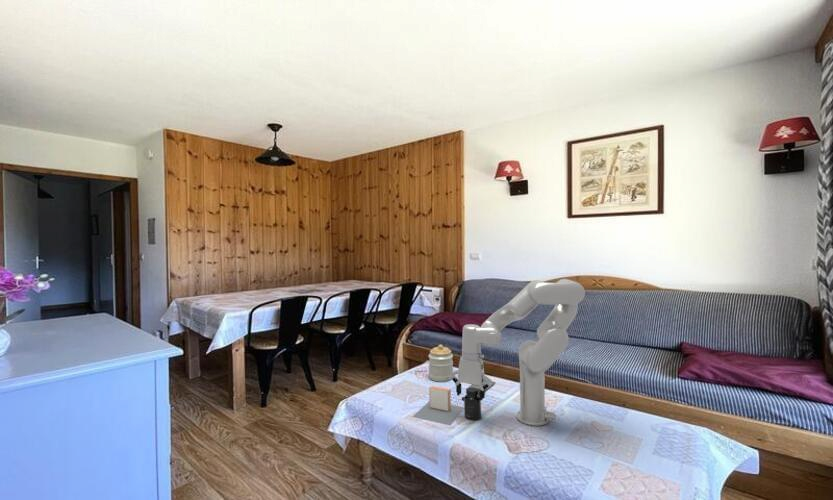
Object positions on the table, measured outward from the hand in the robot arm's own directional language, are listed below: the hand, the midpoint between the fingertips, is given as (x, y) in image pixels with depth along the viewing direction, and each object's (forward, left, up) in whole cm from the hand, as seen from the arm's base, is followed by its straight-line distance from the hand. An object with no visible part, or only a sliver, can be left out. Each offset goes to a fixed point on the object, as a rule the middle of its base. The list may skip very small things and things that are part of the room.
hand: (470, 396), depth 155 cm
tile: (+14, -1, -8) cm, 17 cm away
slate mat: (+13, +2, -9) cm, 16 cm away
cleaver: (+7, -28, -10) cm, 30 cm away
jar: (+29, -36, -9) cm, 47 cm away
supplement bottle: (-1, 0, -9) cm, 9 cm away
